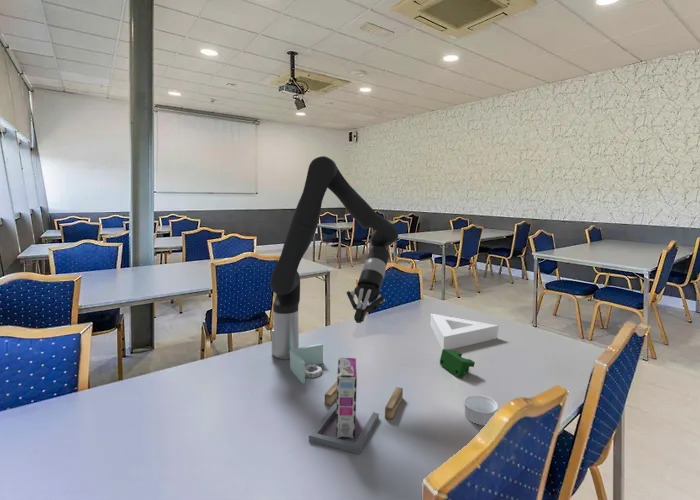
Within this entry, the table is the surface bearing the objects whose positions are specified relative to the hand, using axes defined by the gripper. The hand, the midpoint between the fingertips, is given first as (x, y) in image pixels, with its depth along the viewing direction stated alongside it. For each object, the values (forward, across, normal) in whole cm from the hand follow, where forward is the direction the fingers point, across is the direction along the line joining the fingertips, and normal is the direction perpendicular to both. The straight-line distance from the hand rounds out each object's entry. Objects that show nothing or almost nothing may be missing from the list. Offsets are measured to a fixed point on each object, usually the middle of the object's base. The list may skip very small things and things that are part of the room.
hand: (358, 321), depth 114 cm
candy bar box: (+29, +5, +2) cm, 29 cm away
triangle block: (-23, +24, +53) cm, 63 cm away
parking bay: (+29, +5, +2) cm, 30 cm away
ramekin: (+16, +37, +14) cm, 43 cm away
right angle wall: (+12, -17, +20) cm, 29 cm away
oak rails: (+19, +5, +11) cm, 23 cm away
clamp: (-3, +28, +33) cm, 44 cm away
